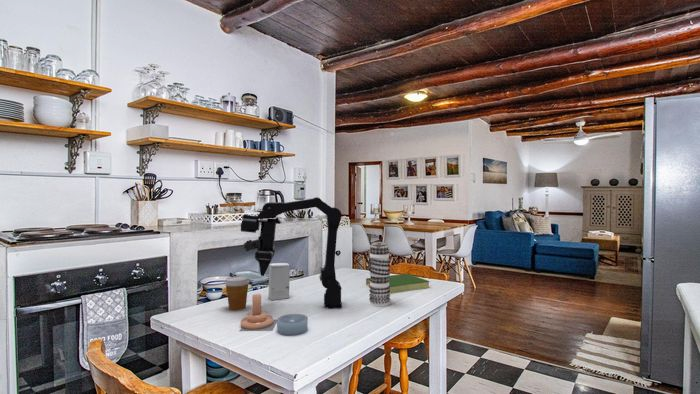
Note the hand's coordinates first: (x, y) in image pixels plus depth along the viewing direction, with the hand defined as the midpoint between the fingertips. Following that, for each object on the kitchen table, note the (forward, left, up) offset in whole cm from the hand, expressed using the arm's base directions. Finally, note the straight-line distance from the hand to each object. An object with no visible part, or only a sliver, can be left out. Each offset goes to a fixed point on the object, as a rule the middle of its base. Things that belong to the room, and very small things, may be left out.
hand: (263, 273), depth 149 cm
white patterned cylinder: (-46, -6, -14) cm, 49 cm away
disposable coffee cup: (+11, -1, -14) cm, 18 cm away
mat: (-2, +19, -14) cm, 24 cm away
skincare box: (-3, -16, -14) cm, 22 cm away
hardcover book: (-57, -33, -15) cm, 68 cm away
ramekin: (-14, +24, -14) cm, 31 cm away
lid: (-1, +18, -14) cm, 23 cm away
